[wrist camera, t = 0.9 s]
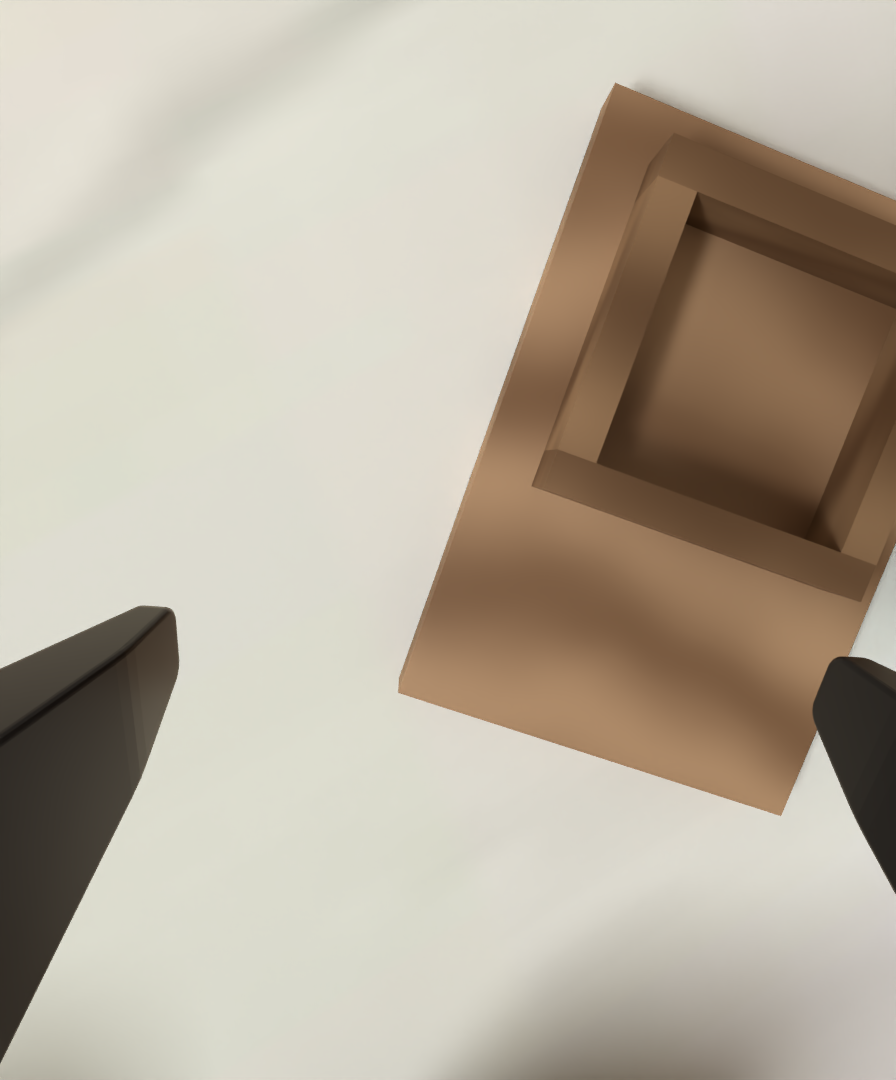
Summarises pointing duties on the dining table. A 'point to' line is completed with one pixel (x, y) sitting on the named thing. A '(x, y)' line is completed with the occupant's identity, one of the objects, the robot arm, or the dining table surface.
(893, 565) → the dining table surface
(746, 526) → the walnut base
